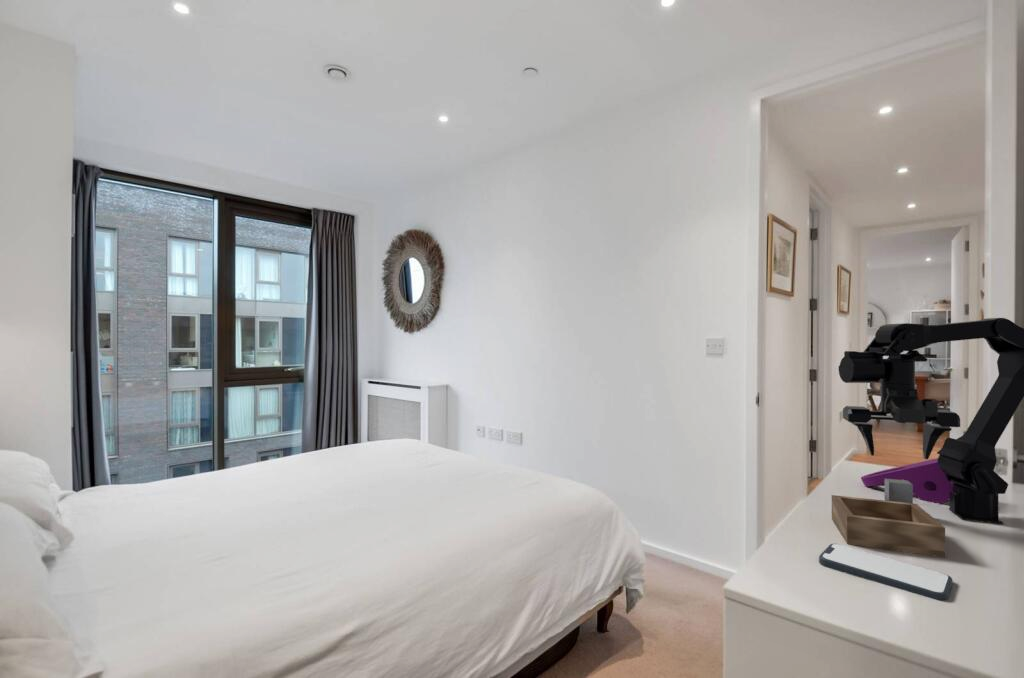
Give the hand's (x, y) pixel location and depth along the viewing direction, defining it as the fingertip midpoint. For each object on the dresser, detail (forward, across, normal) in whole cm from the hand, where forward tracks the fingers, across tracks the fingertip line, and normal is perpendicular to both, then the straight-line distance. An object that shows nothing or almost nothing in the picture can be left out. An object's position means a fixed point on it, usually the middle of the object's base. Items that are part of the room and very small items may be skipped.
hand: (898, 457), depth 102 cm
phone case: (+13, -11, -32) cm, 36 cm away
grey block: (+12, 0, +2) cm, 12 cm away
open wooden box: (+12, -7, -15) cm, 20 cm away
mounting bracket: (+13, +7, +19) cm, 24 cm away
